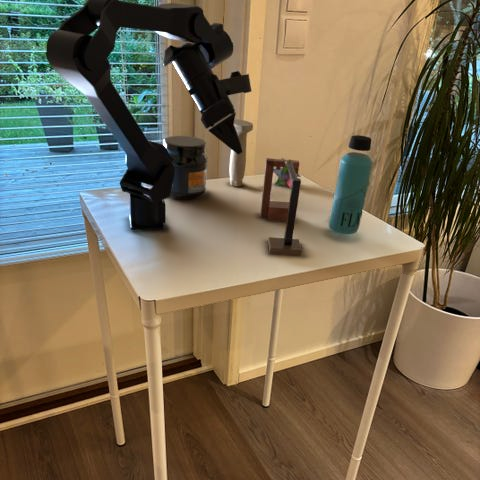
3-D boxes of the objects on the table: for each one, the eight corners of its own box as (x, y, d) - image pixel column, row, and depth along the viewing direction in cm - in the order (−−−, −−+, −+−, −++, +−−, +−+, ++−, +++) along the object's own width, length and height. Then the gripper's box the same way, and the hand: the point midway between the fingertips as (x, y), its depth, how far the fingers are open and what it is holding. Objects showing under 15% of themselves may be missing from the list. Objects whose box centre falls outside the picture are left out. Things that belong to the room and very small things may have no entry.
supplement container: (215, 195, 120) (218, 143, 113) (179, 204, 114) (180, 149, 107) (187, 182, 126) (188, 132, 119) (152, 190, 120) (151, 137, 113)
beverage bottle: (334, 242, 103) (354, 141, 92) (321, 228, 108) (338, 131, 97) (362, 240, 105) (385, 141, 94) (348, 227, 110) (369, 132, 99)
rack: (269, 253, 96) (278, 182, 88) (264, 220, 110) (272, 156, 102) (300, 255, 96) (312, 185, 89) (292, 222, 110) (301, 158, 102)
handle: (235, 190, 124) (240, 126, 116) (221, 181, 129) (224, 120, 120) (251, 187, 127) (257, 125, 119) (236, 179, 131) (241, 118, 123)
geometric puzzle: (309, 181, 128) (300, 150, 127) (289, 184, 124) (279, 153, 124) (292, 190, 134) (283, 161, 133) (272, 194, 130) (263, 164, 130)
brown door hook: (260, 219, 110) (267, 162, 103) (259, 212, 113) (266, 156, 106) (291, 222, 110) (300, 164, 103) (290, 215, 113) (298, 158, 107)
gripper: (235, 50, 87) (278, 132, 93) (233, 55, 104) (270, 125, 110) (180, 86, 89) (227, 165, 95) (188, 86, 106) (227, 152, 112)
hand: (239, 150), depth 103 cm, fingers open, 9 cm apart
